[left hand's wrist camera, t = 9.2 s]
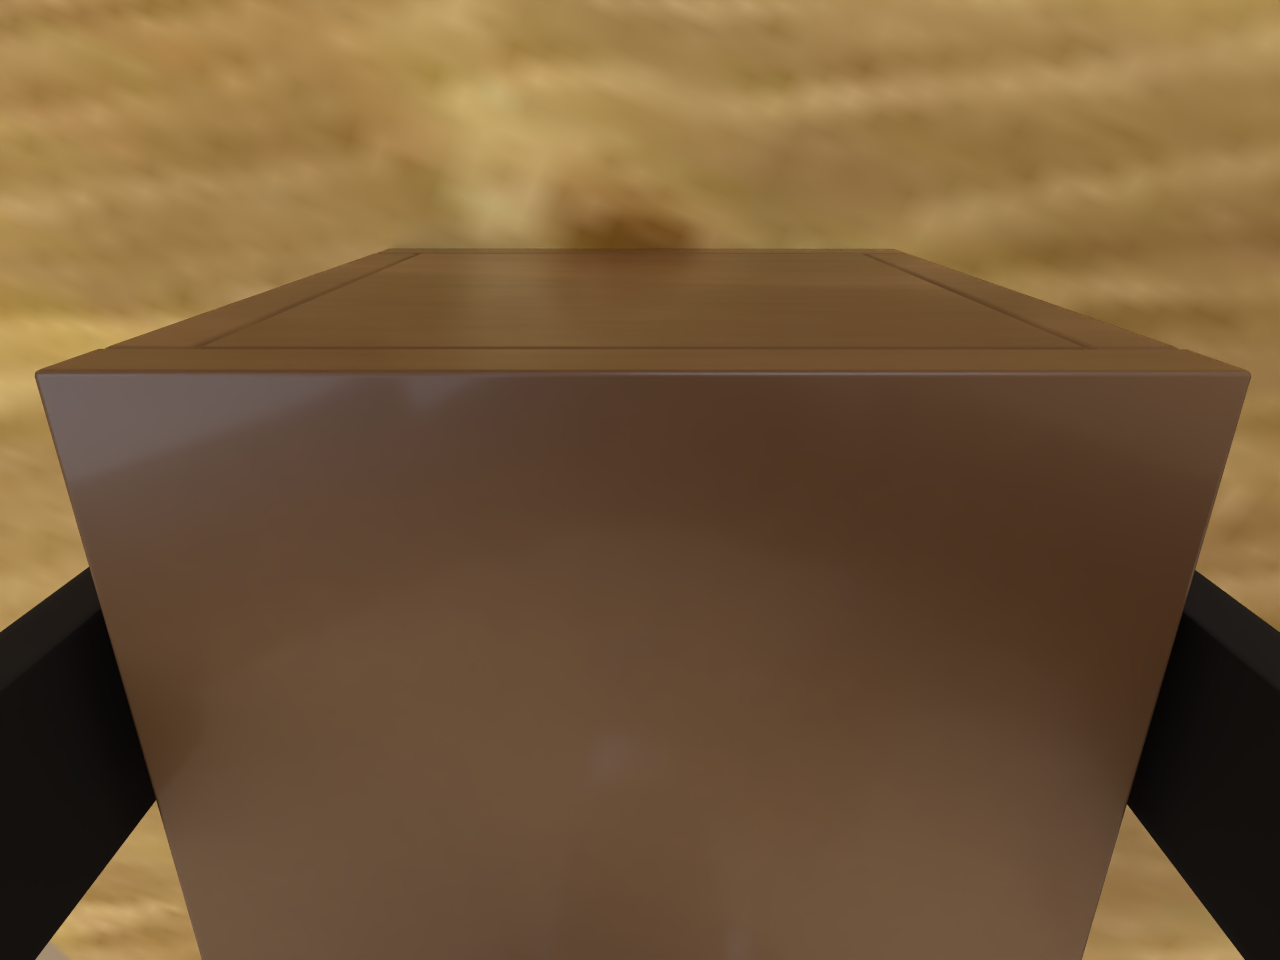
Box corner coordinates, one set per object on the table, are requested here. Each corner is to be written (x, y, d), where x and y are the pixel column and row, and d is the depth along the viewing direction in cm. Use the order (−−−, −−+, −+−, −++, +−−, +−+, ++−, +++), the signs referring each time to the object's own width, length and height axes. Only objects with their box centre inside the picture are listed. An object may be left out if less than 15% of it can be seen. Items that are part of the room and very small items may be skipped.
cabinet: (816, 945, 24) (934, 1470, 15) (464, 944, 24) (346, 1470, 15) (896, 249, 17) (1256, 371, 7) (385, 248, 17) (30, 370, 7)
